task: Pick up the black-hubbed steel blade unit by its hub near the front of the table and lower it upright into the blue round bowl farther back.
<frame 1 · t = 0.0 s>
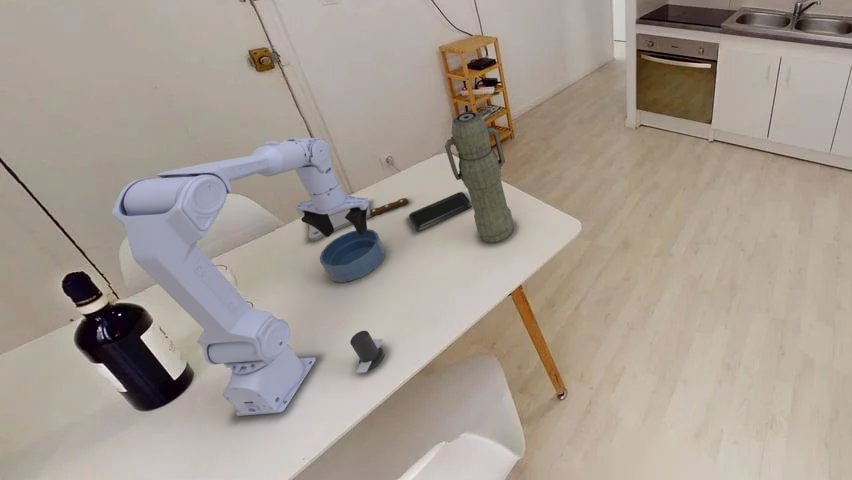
hand: (346, 232, 95), 10 cm above the table, tool pointing down, fingers open, 7 cm apart
blue round bowl: (358, 263, 100), on the table
kitchen cleaver: (360, 215, 116), on the table
blade unit: (372, 359, 79), on the table
thermos: (497, 231, 108), on the table
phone: (441, 212, 116), on the table
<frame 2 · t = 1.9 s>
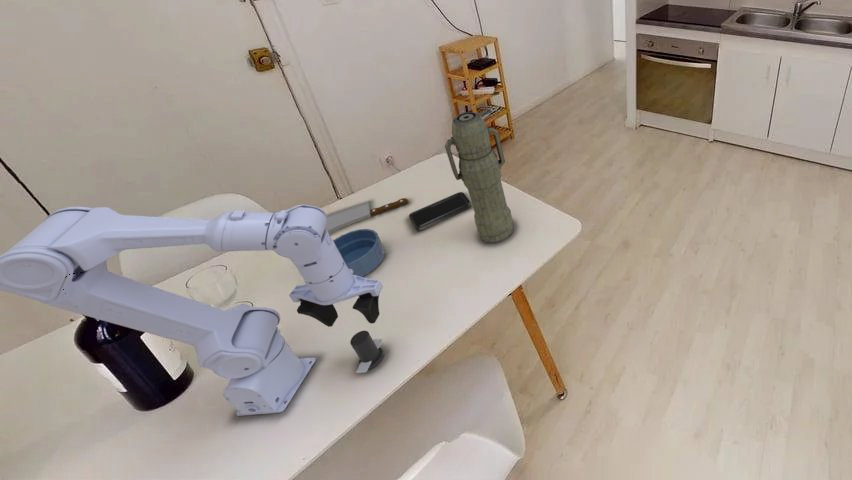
hand: (354, 320, 76), 9 cm above the table, tool pointing down, fingers open, 7 cm apart
nothing on the table moved.
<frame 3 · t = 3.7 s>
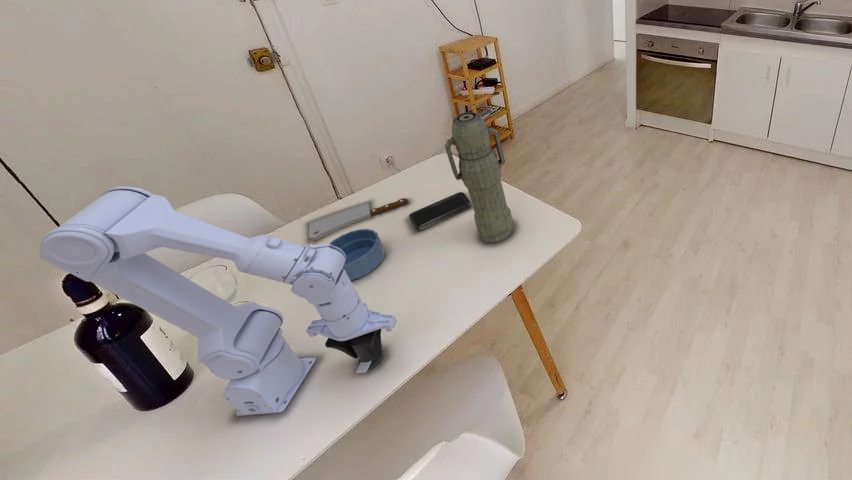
hand: (368, 352, 78), 2 cm above the table, tool pointing down, fingers closed on blade unit, 3 cm apart
blade unit: (372, 359, 79), on the table, touching gripper
everything else where it was.
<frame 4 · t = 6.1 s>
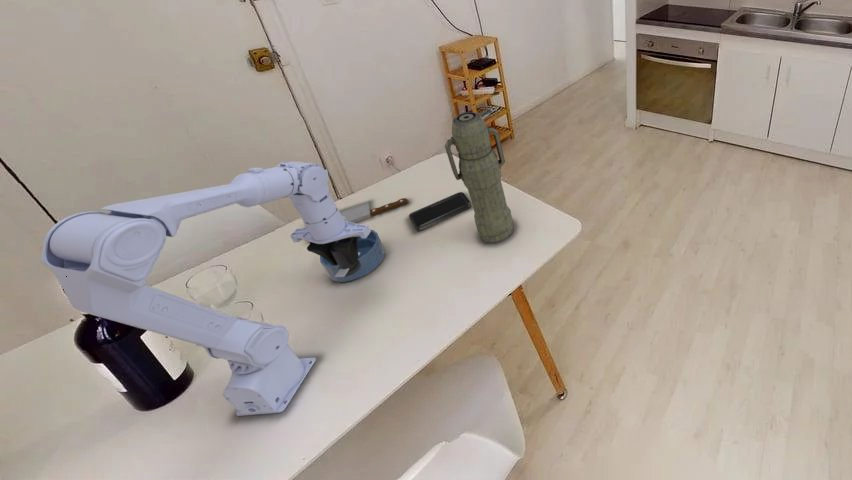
hand: (346, 261, 88), 10 cm above the table, tool pointing down, fingers closed on blade unit, 3 cm apart
blade unit: (350, 269, 89), point 8 cm above the table, touching gripper
everything else where it was.
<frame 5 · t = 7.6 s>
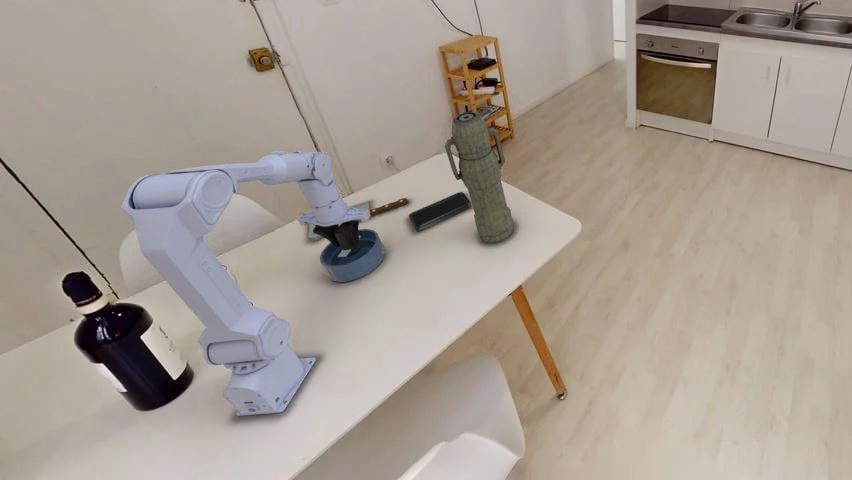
hand: (348, 243, 97), 7 cm above the table, tool pointing down, fingers closed on blade unit, 3 cm apart
blade unit: (351, 250, 98), point 4 cm above the table, touching gripper
everything else where it was.
when the fingers open (3 cm above the table, at t = 8.9 s): blade unit stays where it is, resting on blue round bowl.
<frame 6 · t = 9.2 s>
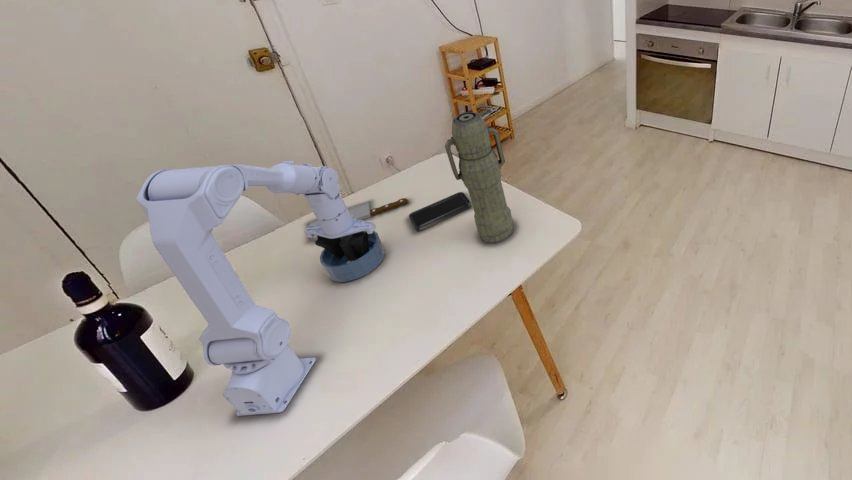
hand: (353, 254, 99), 3 cm above the table, tool pointing down, fingers open, 5 cm apart
blade unit: (357, 261, 100), point 1 cm above the table, touching blue round bowl
everything else where it was.
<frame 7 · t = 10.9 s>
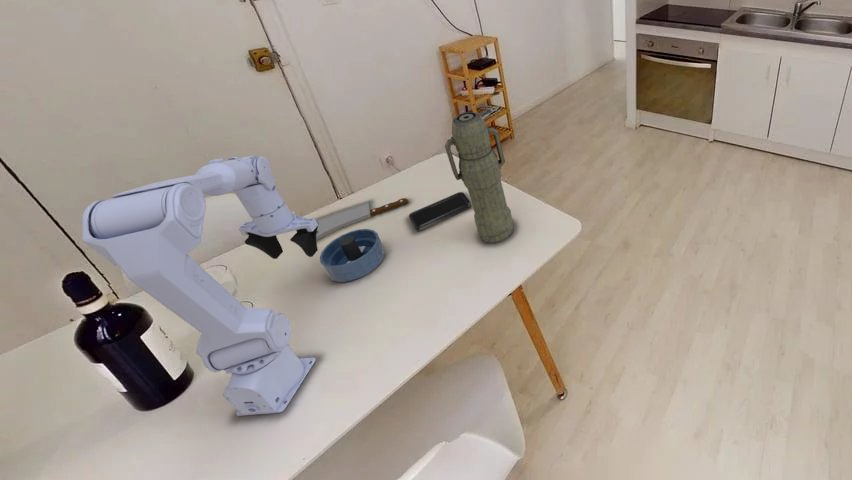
hand: (296, 254, 91), 10 cm above the table, tool pointing down, fingers open, 7 cm apart
nothing on the table moved.
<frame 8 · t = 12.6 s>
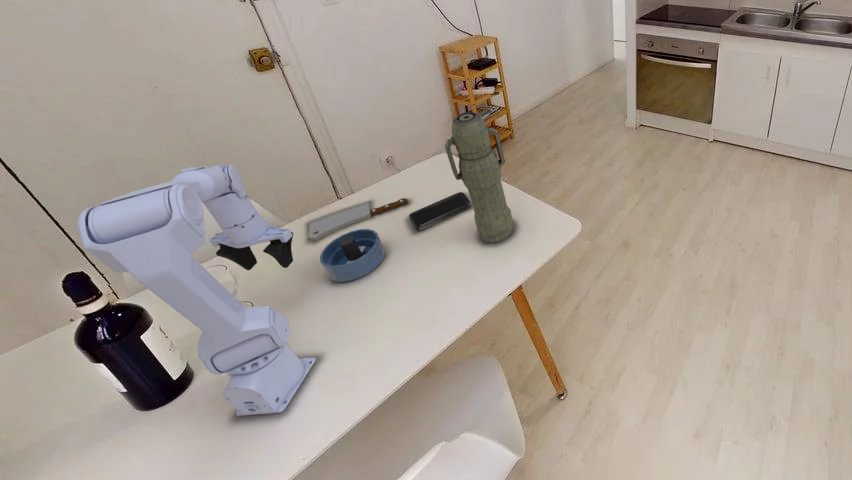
hand: (270, 265, 88), 9 cm above the table, tool pointing down, fingers open, 7 cm apart
nothing on the table moved.
at the end: blade unit 0.1 cm off-centre in the blue round bowl, point 0.6 cm above the blue round bowl's base; blade unit tilted 0°; the gripper is holding nothing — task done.
